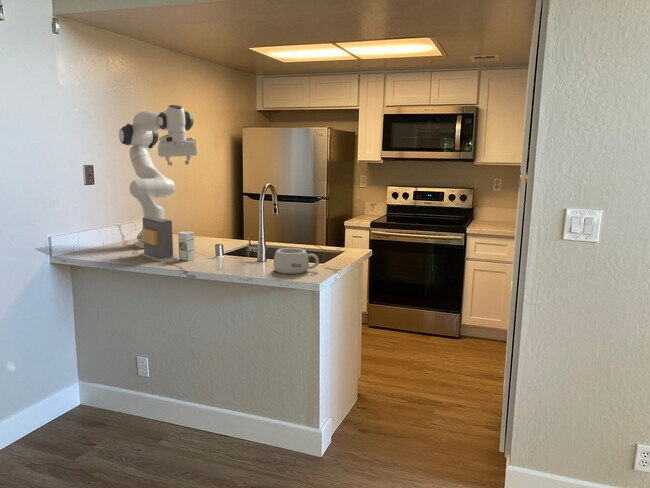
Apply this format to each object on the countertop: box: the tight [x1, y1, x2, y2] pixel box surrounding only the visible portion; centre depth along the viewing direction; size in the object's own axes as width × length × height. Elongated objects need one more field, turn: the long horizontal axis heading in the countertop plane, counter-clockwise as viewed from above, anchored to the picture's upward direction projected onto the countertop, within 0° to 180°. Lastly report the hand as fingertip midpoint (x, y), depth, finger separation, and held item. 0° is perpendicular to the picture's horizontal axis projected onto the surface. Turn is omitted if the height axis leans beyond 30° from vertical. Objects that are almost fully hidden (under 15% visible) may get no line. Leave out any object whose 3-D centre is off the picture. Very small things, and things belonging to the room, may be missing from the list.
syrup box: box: [177, 230, 196, 262], centre depth 268 cm, size 6×6×14 cm
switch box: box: [140, 217, 178, 263], centre depth 273 cm, size 22×9×20 cm, turn 44°
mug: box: [273, 247, 320, 275], centre depth 248 cm, size 21×17×10 cm
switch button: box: [141, 227, 158, 245], centre depth 270 cm, size 12×3×7 cm, turn 44°
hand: (178, 165), depth 273 cm, fingers open, 8 cm apart
